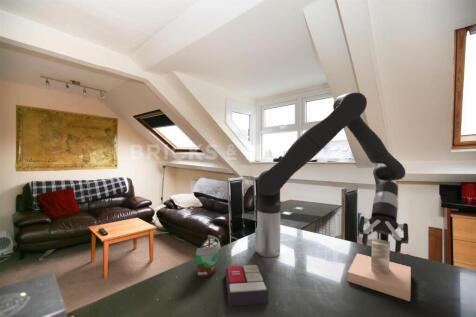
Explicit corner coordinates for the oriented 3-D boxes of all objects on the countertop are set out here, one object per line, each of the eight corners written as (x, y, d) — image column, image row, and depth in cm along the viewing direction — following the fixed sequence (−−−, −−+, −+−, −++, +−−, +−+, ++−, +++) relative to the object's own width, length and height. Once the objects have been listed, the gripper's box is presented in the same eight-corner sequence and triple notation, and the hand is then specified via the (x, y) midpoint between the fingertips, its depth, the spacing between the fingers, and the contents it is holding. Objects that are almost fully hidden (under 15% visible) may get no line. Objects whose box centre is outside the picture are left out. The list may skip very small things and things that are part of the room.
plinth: (347, 280, 73) (347, 271, 73) (356, 261, 86) (357, 253, 85) (410, 301, 63) (410, 291, 63) (410, 275, 76) (410, 267, 76)
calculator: (257, 263, 77) (268, 288, 62) (258, 276, 77) (268, 303, 62) (225, 265, 76) (228, 290, 61) (225, 277, 76) (228, 306, 61)
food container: (214, 281, 72) (214, 250, 72) (196, 279, 73) (195, 249, 73) (224, 262, 84) (224, 236, 84) (208, 260, 86) (208, 234, 85)
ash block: (370, 269, 74) (371, 242, 73) (372, 264, 78) (373, 238, 77) (387, 274, 71) (388, 246, 71) (389, 268, 75) (390, 241, 74)
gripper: (361, 198, 84) (354, 238, 75) (409, 204, 75) (408, 250, 67) (363, 209, 88) (357, 248, 80) (409, 216, 80) (407, 261, 71)
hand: (380, 249), depth 73 cm, fingers open, 8 cm apart
